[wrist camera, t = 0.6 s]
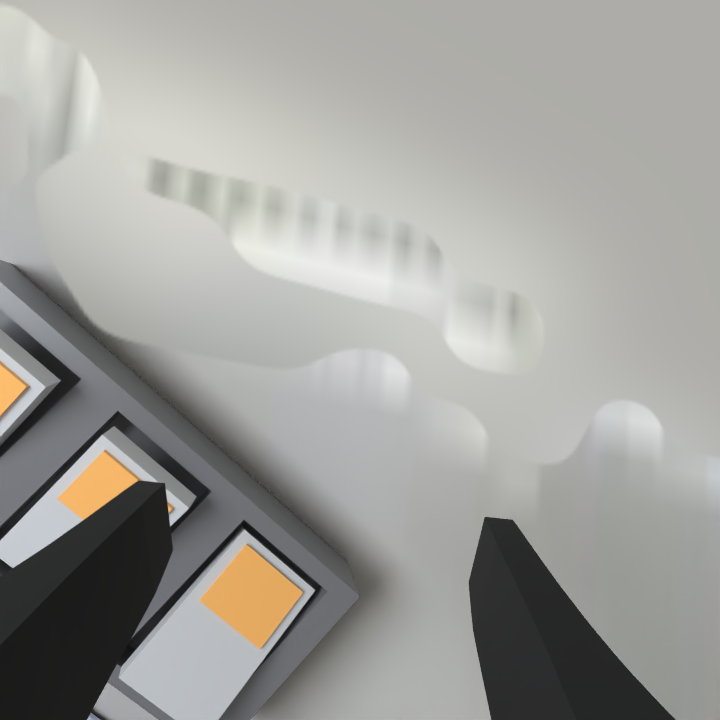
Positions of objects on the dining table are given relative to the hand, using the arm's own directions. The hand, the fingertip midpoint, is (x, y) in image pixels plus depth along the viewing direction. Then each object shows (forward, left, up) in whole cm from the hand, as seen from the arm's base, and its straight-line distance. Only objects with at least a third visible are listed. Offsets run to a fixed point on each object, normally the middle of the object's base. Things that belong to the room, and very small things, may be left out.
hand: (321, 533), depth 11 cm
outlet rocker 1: (-11, +4, -16) cm, 20 cm away
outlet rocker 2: (-11, -5, -16) cm, 20 cm away
